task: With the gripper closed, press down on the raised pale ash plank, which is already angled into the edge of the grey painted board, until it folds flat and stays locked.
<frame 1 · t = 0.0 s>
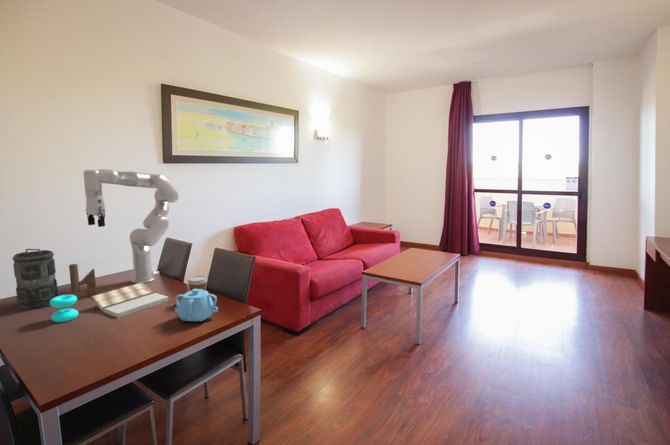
hand: (96, 225, 198), 37 cm above the table, tool pointing down, fingers open, 9 cm apart
plank: (123, 295, 189), point 3 cm above the table, hinge at 22.0°
wooden block: (84, 297, 196), on the table
donuts: (65, 319, 168), on the table
glass of beer: (198, 301, 192), on the table
canister: (39, 304, 185), on the table
decorative pot: (196, 318, 171), on the table
board: (137, 306, 184), on the table
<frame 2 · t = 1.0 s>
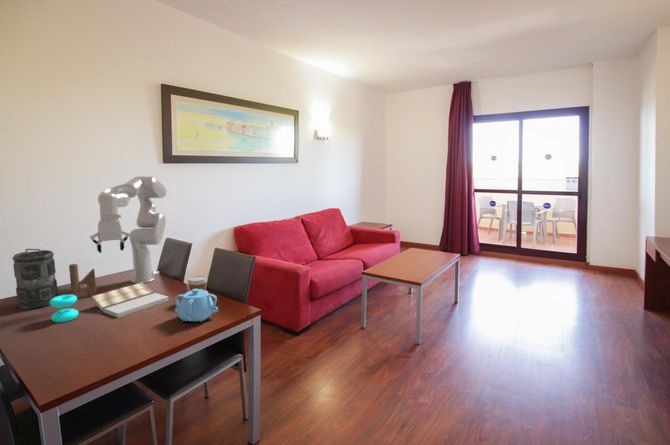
hand: (111, 251, 189), 25 cm above the table, tool pointing down, fingers open, 9 cm apart
nothing on the table moved.
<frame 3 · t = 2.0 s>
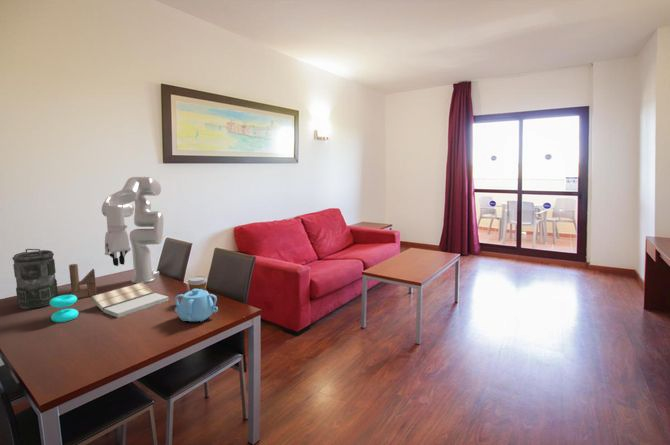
hand: (119, 264, 188), 19 cm above the table, tool pointing down, fingers closed
nothing on the table moved.
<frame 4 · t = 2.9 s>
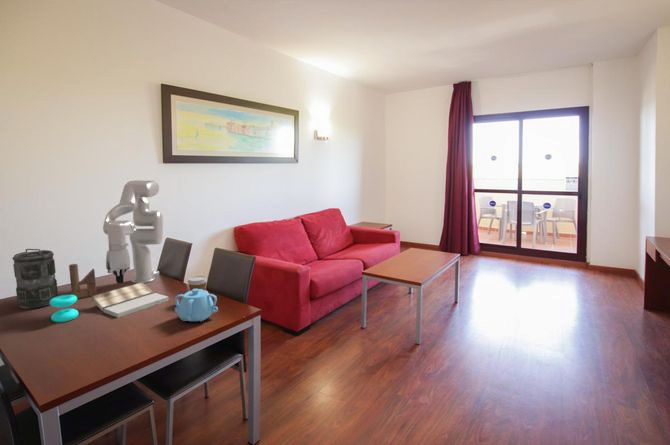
hand: (119, 282, 188), 10 cm above the table, tool pointing down, fingers closed
nothing on the table moved.
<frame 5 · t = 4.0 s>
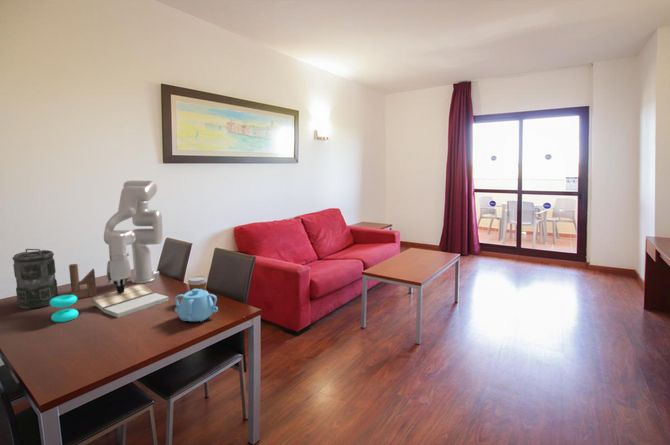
hand: (120, 292, 189), 5 cm above the table, tool pointing down, fingers closed
plank: (123, 296, 189), point 3 cm above the table, hinge at 16.4°, touching gripper
everything else where it was.
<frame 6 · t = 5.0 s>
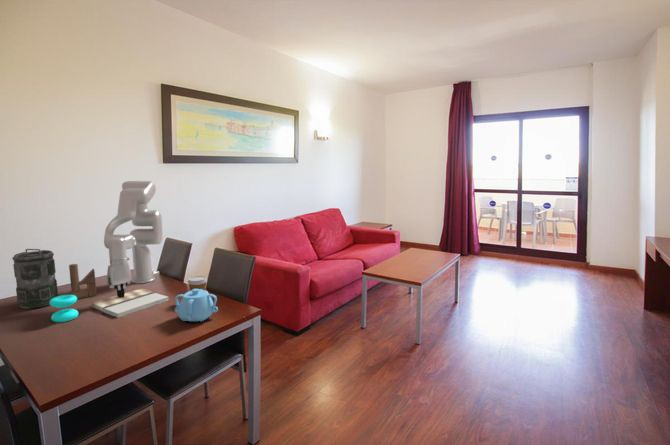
hand: (121, 296, 190), 2 cm above the table, tool pointing down, fingers closed
plank: (124, 299, 189), point 1 cm above the table, hinge at 1.9°, touching gripper
everything else where it was.
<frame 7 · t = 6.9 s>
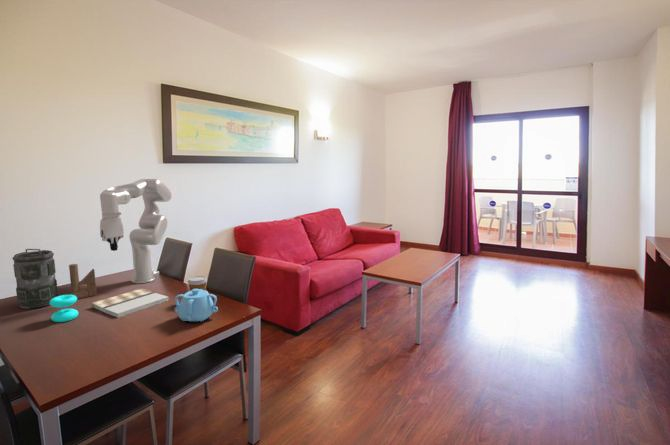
hand: (114, 250, 196), 24 cm above the table, tool pointing down, fingers closed
plank: (124, 299, 189), point 1 cm above the table, hinge at 1.9°
everything else where it was.
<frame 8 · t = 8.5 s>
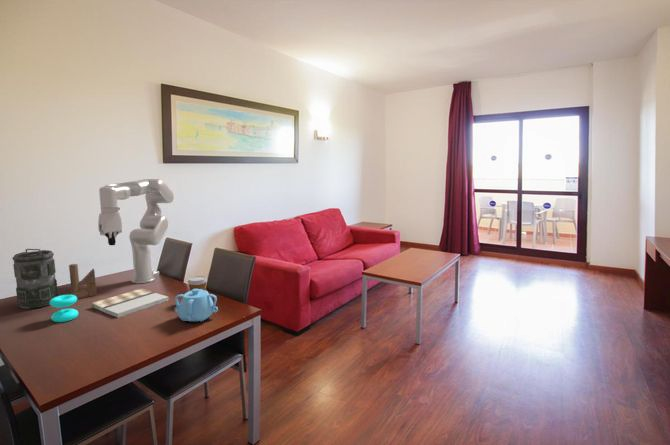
hand: (112, 244, 196), 27 cm above the table, tool pointing down, fingers closed
nothing on the table moved.
at the end: plank at +2° (first picture: +22°) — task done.
